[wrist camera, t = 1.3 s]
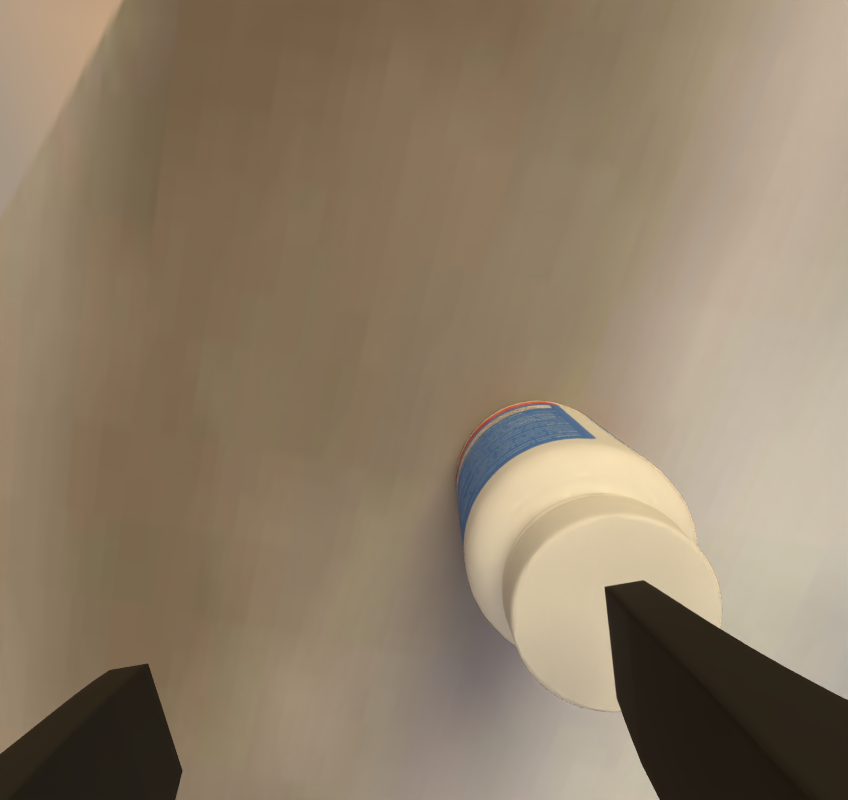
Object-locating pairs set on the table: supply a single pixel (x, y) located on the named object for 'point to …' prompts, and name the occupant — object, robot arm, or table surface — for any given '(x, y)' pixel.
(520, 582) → the pill bottle
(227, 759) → the table surface
